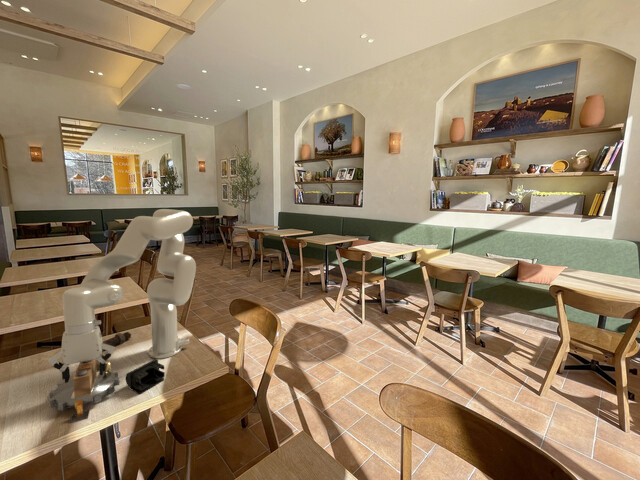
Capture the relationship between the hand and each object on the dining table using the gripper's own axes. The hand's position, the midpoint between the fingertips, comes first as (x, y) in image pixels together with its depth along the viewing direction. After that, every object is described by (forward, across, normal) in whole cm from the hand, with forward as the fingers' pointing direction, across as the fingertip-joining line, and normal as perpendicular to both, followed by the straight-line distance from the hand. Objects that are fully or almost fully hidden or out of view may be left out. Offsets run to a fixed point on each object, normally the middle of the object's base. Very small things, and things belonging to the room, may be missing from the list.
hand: (85, 376), depth 97 cm
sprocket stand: (+7, 0, +5) cm, 8 cm away
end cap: (+7, -17, +2) cm, 18 cm away
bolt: (+7, -5, -32) cm, 33 cm away
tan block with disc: (+3, 0, 0) cm, 3 cm away
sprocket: (+5, 0, 0) cm, 5 cm away
